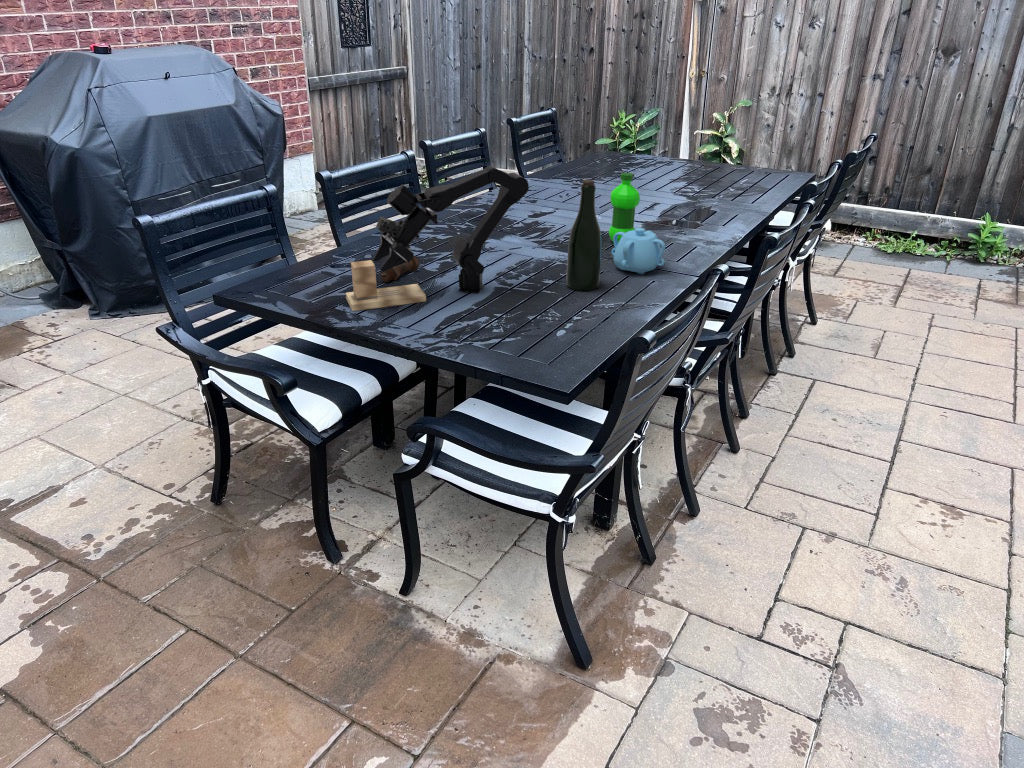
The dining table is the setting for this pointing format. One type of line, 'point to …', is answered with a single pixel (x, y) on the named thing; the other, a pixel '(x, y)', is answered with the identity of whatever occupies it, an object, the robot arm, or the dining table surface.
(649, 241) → the decorative pot
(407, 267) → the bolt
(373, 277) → the block
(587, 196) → the beer bottle
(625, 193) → the plastic bottle
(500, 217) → the robot arm
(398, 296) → the plank
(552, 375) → the dining table surface
